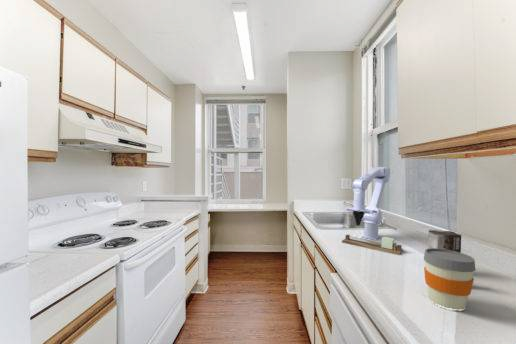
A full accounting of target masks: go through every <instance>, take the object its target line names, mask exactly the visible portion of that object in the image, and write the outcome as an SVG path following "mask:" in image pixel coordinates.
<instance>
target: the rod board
mask: <svg viewBox="0 0 516 344" xmlns="http://www.w3.org/2000/svg"><path fill="white" fill-rule="evenodd" d="M341 243H342V244H343V243H345V244H348V245H352V246H355V247H357V246H358V247H362V248H367V249H371V250H375V251H379V252H383V253H389V254H392V255H393V254H394V255H398V256H401V254H402V252H403V251H404V248H402V246H403V245H401V244H397V243H396V242H394V244H393V249H388V248H383V247H381V243H382V241H377V240H373V239H368V238H363V237H357V236H351V235H350V234H345V237H344V239H342V240H341Z"/></svg>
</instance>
